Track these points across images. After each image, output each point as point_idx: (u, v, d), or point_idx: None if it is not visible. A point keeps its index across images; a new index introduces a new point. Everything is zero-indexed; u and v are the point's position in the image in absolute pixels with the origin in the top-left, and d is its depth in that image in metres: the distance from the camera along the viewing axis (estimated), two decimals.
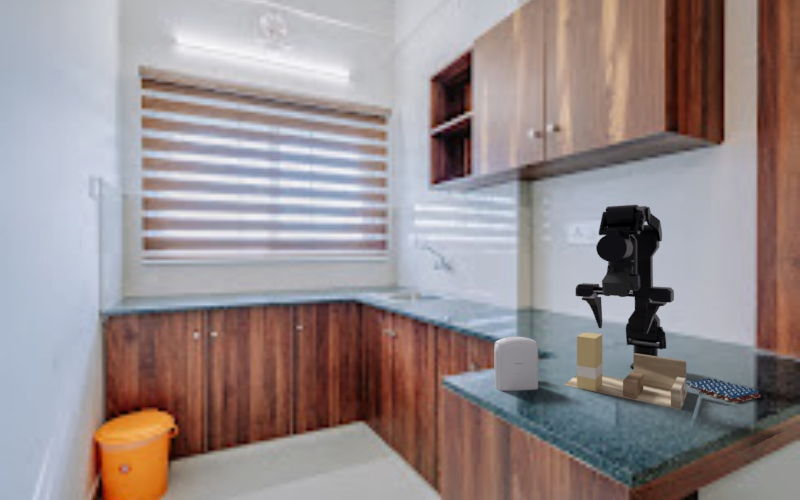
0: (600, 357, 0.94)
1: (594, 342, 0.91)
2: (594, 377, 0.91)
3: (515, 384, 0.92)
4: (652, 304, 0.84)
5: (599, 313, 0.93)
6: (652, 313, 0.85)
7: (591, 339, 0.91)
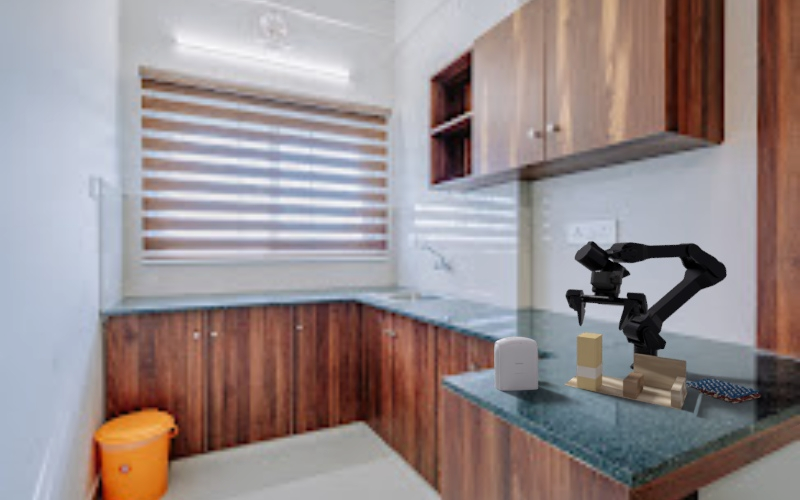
0: (600, 357, 0.94)
1: (594, 342, 0.91)
2: (594, 377, 0.91)
3: (515, 384, 0.92)
4: (629, 301, 0.99)
5: (582, 313, 1.05)
6: (627, 311, 0.98)
7: (591, 339, 0.91)
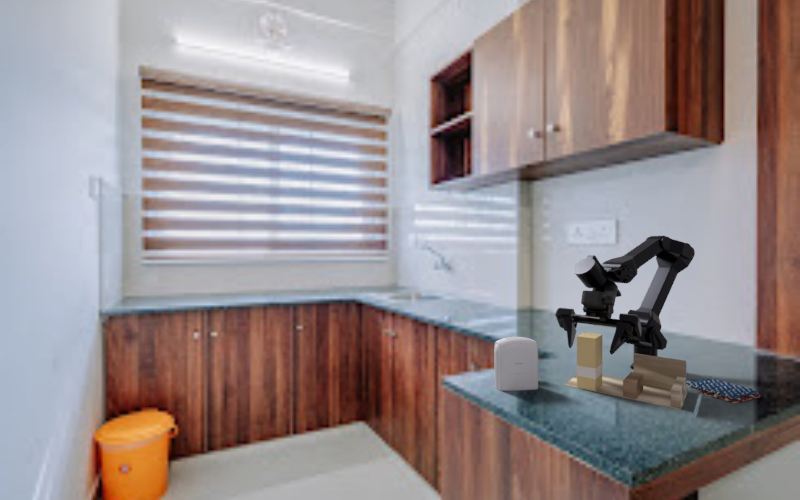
0: (600, 357, 0.94)
1: (594, 342, 0.91)
2: (594, 377, 0.91)
3: (515, 384, 0.92)
4: (621, 323, 0.93)
5: (572, 334, 1.00)
6: (620, 334, 0.93)
7: (591, 339, 0.91)
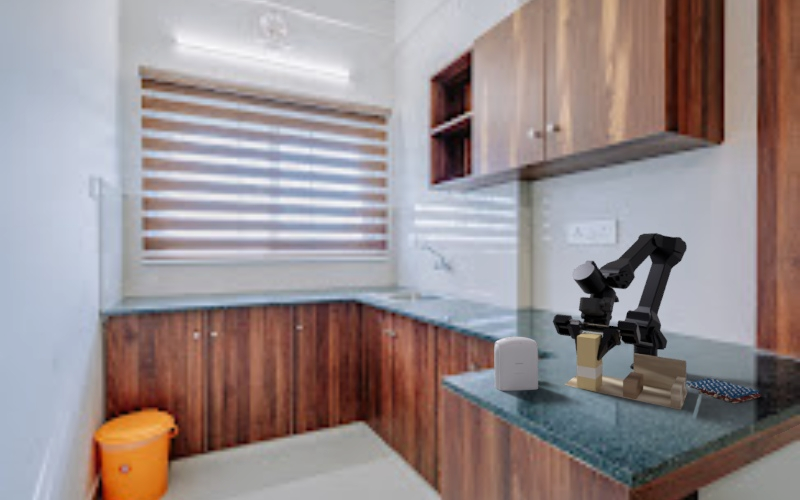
0: None
1: (594, 342, 0.91)
2: (594, 377, 0.91)
3: (515, 384, 0.92)
4: (608, 329, 0.93)
5: None
6: (606, 340, 0.93)
7: (591, 339, 0.91)
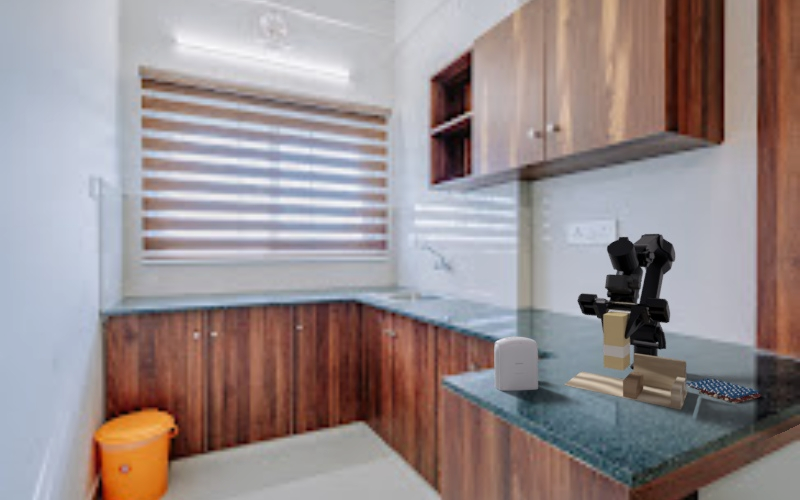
0: None
1: (622, 320, 0.88)
2: (622, 356, 0.88)
3: (515, 384, 0.92)
4: (636, 306, 0.90)
5: None
6: (635, 318, 0.90)
7: (618, 317, 0.89)
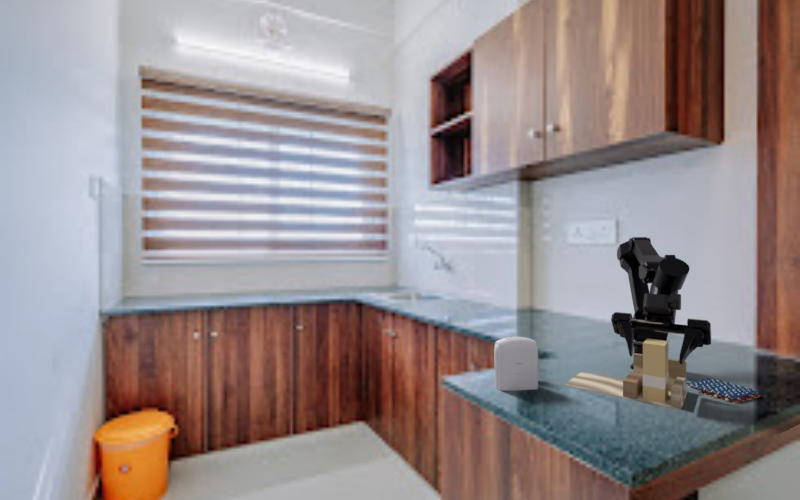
0: (667, 365, 0.87)
1: (663, 349, 0.84)
2: (663, 387, 0.84)
3: (515, 384, 0.92)
4: (690, 329, 0.85)
5: (632, 341, 0.91)
6: (689, 341, 0.84)
7: (660, 346, 0.85)
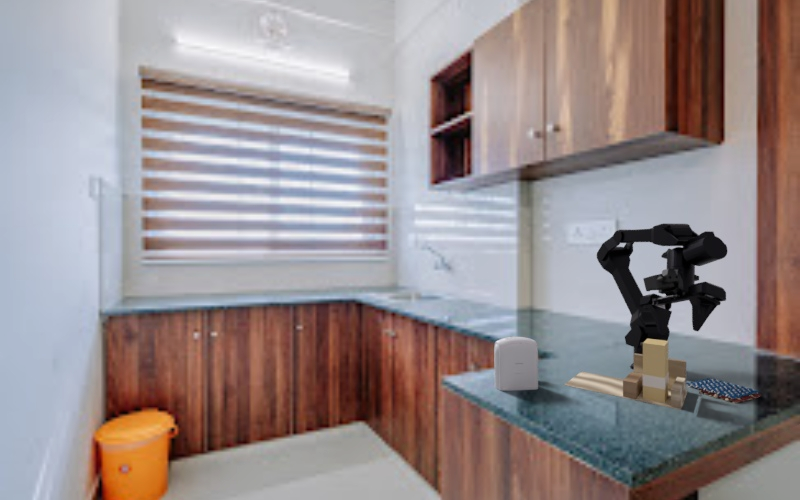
0: (667, 365, 0.87)
1: (663, 349, 0.84)
2: (663, 387, 0.84)
3: (515, 384, 0.92)
4: (691, 297, 0.89)
5: (661, 320, 0.98)
6: (696, 308, 0.89)
7: (660, 346, 0.85)
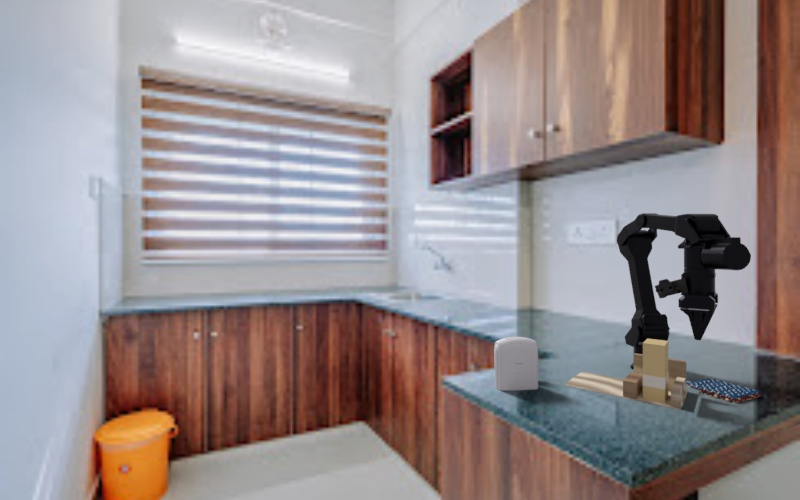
0: (667, 365, 0.87)
1: (663, 349, 0.84)
2: (663, 387, 0.84)
3: (515, 384, 0.92)
4: None
5: None
6: (689, 319, 0.88)
7: (660, 346, 0.85)
